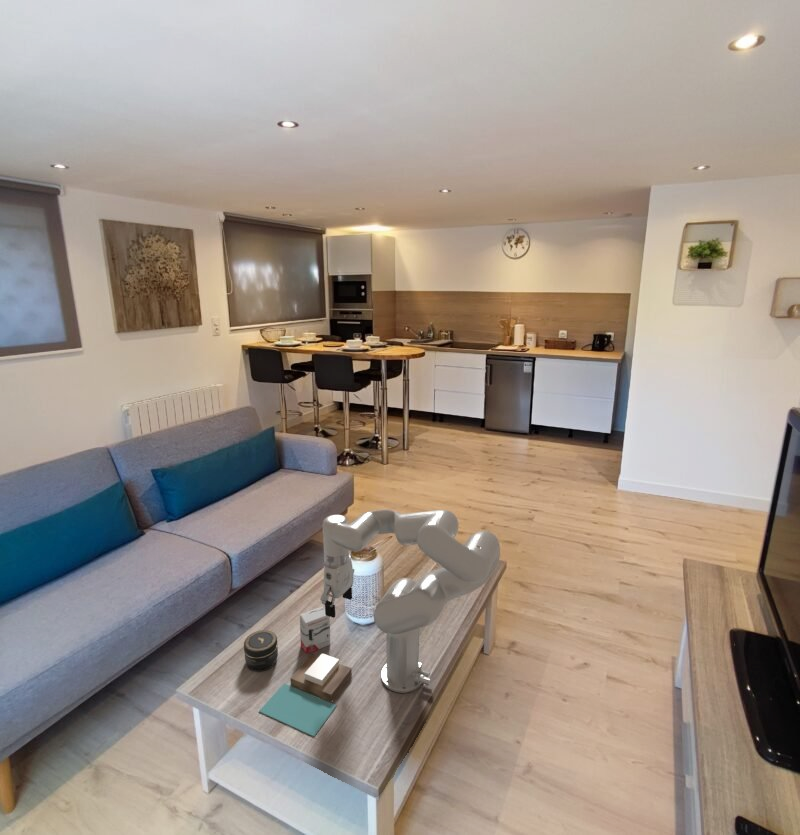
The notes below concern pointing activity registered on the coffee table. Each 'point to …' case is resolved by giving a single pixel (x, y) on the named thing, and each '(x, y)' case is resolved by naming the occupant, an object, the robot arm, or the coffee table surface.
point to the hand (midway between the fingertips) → (339, 606)
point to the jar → (261, 650)
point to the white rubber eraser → (321, 669)
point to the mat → (298, 709)
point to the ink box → (314, 630)
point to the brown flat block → (330, 685)
